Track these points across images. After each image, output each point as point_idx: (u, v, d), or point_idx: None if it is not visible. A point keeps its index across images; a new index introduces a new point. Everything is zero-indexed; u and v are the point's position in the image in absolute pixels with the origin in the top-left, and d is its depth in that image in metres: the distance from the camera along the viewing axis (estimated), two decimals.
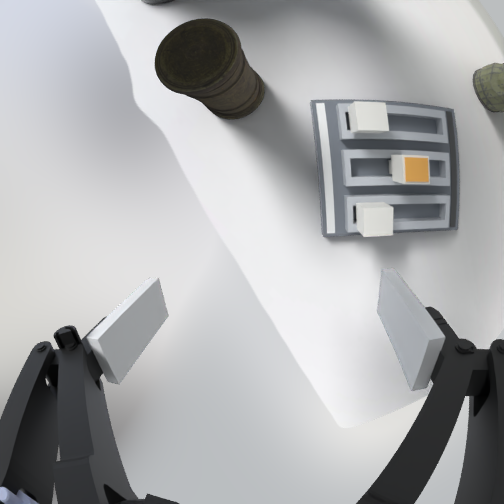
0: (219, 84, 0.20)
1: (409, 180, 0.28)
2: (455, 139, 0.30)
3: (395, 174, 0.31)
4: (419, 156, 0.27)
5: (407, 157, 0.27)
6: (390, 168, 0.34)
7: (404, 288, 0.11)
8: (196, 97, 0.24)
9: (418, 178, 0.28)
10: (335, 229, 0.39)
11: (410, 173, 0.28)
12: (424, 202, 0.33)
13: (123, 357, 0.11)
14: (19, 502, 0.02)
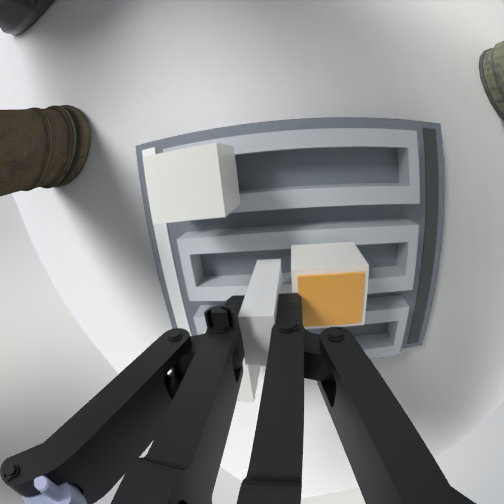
0: None
1: (308, 323, 0.14)
2: (439, 187, 0.17)
3: None
4: (341, 269, 0.13)
5: (305, 275, 0.13)
6: None
7: (273, 275, 0.15)
8: None
9: (333, 318, 0.14)
10: None
11: (311, 310, 0.14)
12: None
13: None
14: (57, 495, 0.03)
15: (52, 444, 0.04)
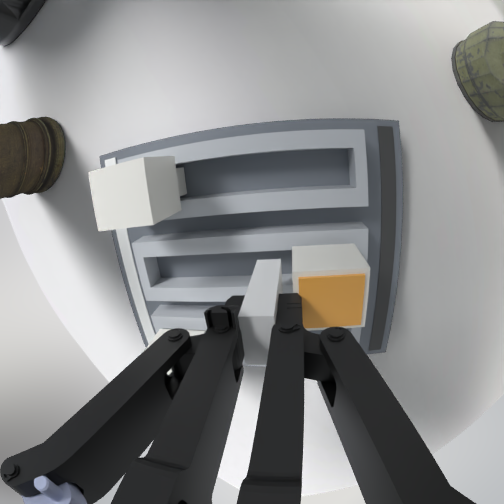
0: None
1: (308, 325, 0.14)
2: (397, 188, 0.17)
3: None
4: (342, 271, 0.13)
5: (306, 277, 0.13)
6: None
7: (273, 275, 0.15)
8: None
9: (334, 319, 0.14)
10: None
11: (311, 312, 0.14)
12: None
13: None
14: (57, 495, 0.03)
15: (52, 444, 0.04)
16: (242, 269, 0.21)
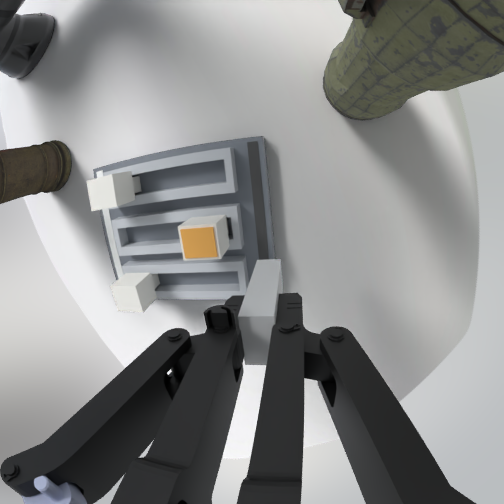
0: None
1: (189, 256, 0.27)
2: (263, 180, 0.30)
3: None
4: (201, 225, 0.26)
5: (184, 229, 0.26)
6: None
7: (273, 275, 0.15)
8: None
9: (202, 253, 0.27)
10: None
11: (189, 248, 0.27)
12: (204, 271, 0.33)
13: None
14: (57, 495, 0.03)
15: (52, 444, 0.04)
16: (173, 235, 0.34)
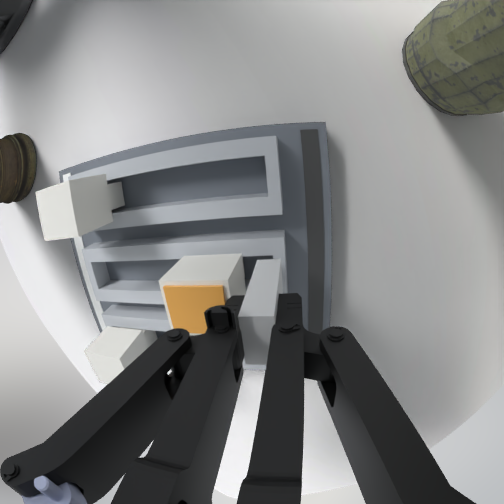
0: None
1: None
2: (324, 194, 0.18)
3: None
4: (201, 282, 0.14)
5: (170, 286, 0.14)
6: None
7: (273, 275, 0.15)
8: None
9: (202, 327, 0.15)
10: None
11: (180, 318, 0.15)
12: None
13: None
14: (57, 495, 0.03)
15: (52, 444, 0.04)
16: None
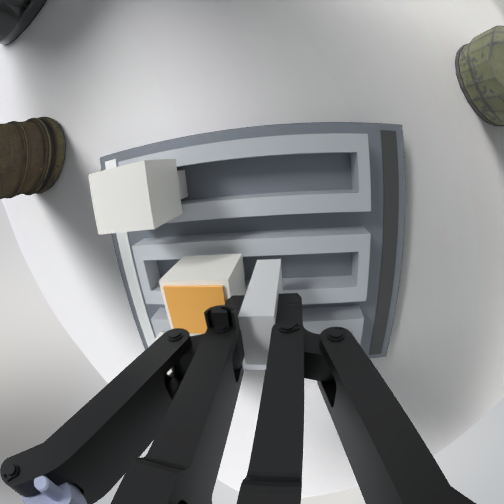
0: None
1: None
2: (400, 193, 0.17)
3: None
4: (201, 282, 0.14)
5: (170, 286, 0.14)
6: None
7: (273, 275, 0.15)
8: None
9: (202, 327, 0.15)
10: None
11: (181, 318, 0.15)
12: None
13: None
14: (57, 495, 0.03)
15: (52, 444, 0.04)
16: None
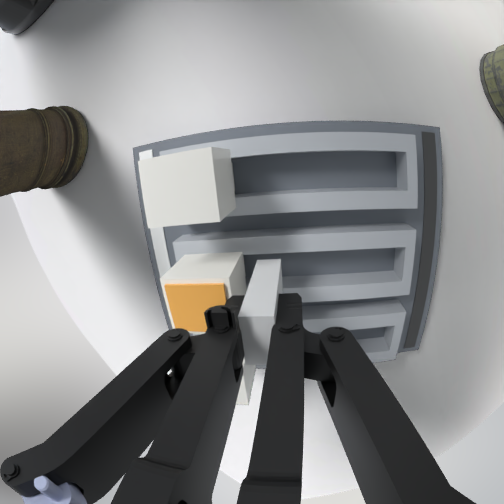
0: None
1: (182, 328, 0.15)
2: (438, 192, 0.17)
3: None
4: (202, 280, 0.14)
5: (171, 284, 0.14)
6: None
7: (273, 275, 0.15)
8: None
9: (204, 325, 0.15)
10: None
11: (182, 316, 0.15)
12: (346, 328, 0.19)
13: None
14: (57, 495, 0.03)
15: (52, 444, 0.04)
16: (289, 270, 0.21)
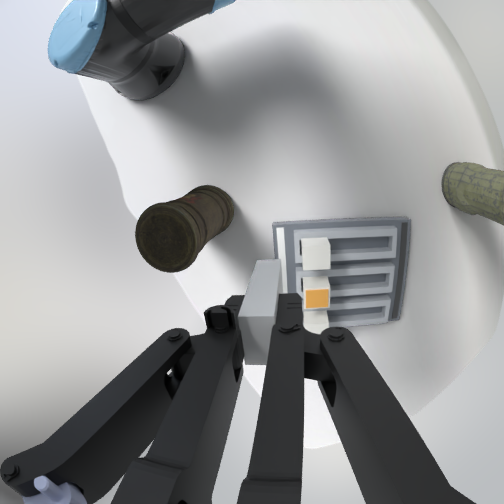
0: None
1: (309, 306, 0.40)
2: (406, 248, 0.42)
3: (303, 295, 0.43)
4: (320, 288, 0.39)
5: (308, 290, 0.40)
6: None
7: (273, 275, 0.15)
8: None
9: (318, 305, 0.40)
10: None
11: (310, 302, 0.40)
12: (365, 306, 0.45)
13: None
14: (57, 495, 0.03)
15: (52, 444, 0.04)
16: (341, 282, 0.46)
